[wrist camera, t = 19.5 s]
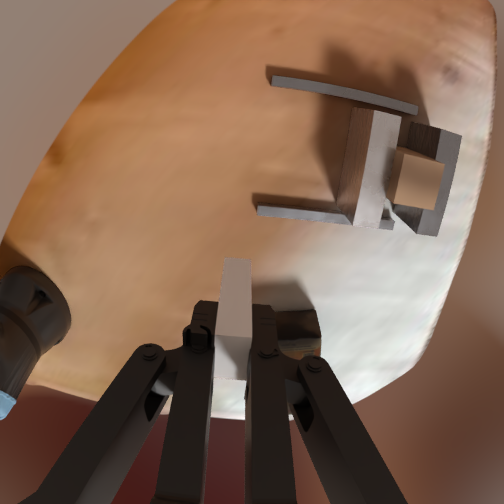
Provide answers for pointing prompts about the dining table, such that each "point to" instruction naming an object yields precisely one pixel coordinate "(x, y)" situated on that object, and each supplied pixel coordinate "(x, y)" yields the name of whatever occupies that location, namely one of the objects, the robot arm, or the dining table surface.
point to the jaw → (367, 166)
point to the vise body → (420, 140)
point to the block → (414, 179)
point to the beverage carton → (298, 334)
